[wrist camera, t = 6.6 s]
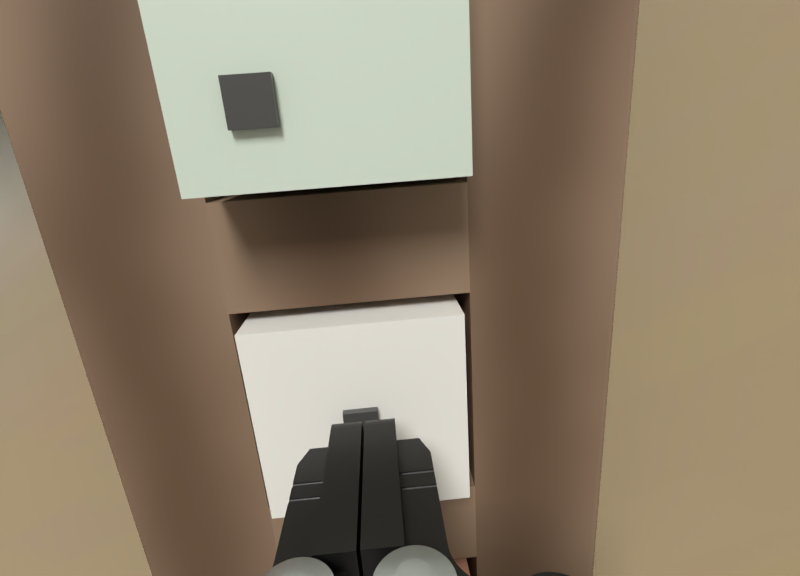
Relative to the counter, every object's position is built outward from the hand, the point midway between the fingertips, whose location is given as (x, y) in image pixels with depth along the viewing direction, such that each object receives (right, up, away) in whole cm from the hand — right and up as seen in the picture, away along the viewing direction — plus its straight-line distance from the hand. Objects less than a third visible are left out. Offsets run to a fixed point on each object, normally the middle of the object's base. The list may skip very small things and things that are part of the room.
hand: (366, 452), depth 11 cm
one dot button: (0, +1, +4) cm, 5 cm away
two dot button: (-1, +10, 0) cm, 10 cm away
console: (-1, +2, +7) cm, 7 cm away
